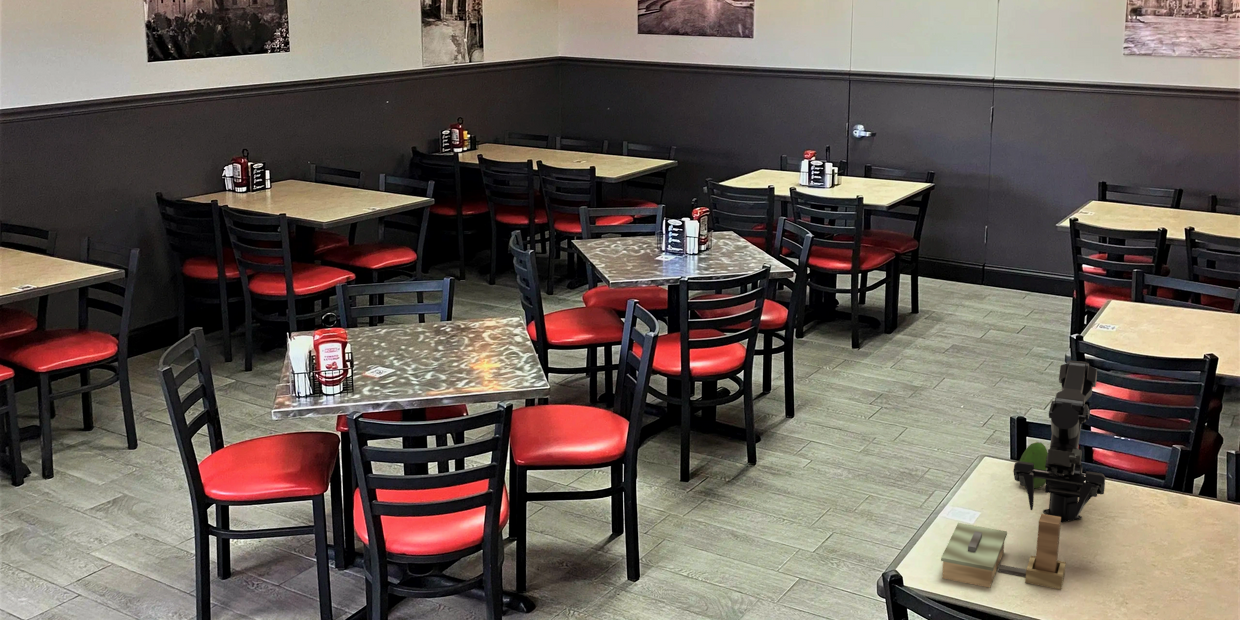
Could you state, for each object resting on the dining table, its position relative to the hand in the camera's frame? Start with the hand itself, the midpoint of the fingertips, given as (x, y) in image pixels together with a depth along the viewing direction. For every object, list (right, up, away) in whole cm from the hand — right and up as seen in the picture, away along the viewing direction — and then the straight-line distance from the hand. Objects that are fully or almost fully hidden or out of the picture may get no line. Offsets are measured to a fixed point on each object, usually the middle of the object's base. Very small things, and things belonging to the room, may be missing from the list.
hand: (1053, 513), depth 248 cm
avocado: (+12, -1, +44) cm, 45 cm away
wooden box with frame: (-10, -13, +1) cm, 16 cm away
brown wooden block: (-3, -14, -2) cm, 14 cm away
